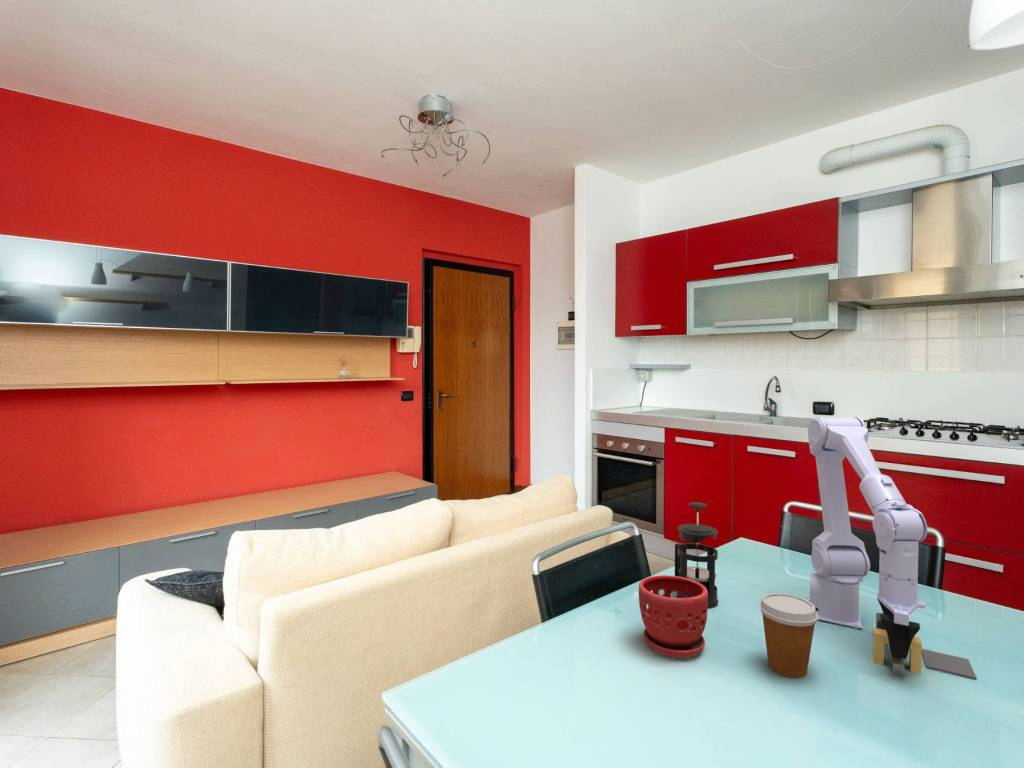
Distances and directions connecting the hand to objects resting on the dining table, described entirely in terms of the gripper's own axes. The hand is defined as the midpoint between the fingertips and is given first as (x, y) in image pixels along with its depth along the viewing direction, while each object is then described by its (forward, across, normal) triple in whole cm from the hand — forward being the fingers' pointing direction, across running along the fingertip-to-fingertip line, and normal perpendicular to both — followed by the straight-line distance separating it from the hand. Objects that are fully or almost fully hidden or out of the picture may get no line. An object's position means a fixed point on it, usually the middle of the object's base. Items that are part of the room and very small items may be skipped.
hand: (896, 647), depth 97 cm
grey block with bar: (+3, +4, 0) cm, 5 cm away
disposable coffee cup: (+3, -12, +17) cm, 21 cm away
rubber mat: (+3, +5, -8) cm, 10 cm away
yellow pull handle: (+3, 0, 0) cm, 3 cm away
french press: (+3, +9, +38) cm, 39 cm away
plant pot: (+3, -15, +37) cm, 40 cm away
